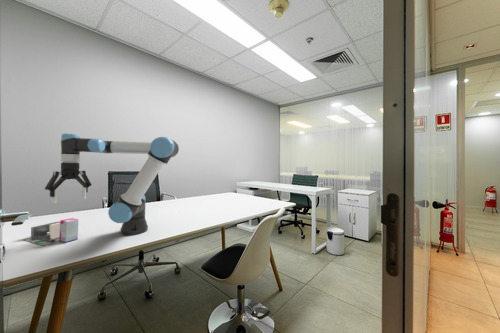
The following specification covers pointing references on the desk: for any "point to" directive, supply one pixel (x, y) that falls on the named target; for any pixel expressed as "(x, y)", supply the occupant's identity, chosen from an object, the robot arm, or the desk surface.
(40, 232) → the gauge base
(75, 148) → the robot arm
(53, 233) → the plunger
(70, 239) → the supplement box
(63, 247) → the desk surface
